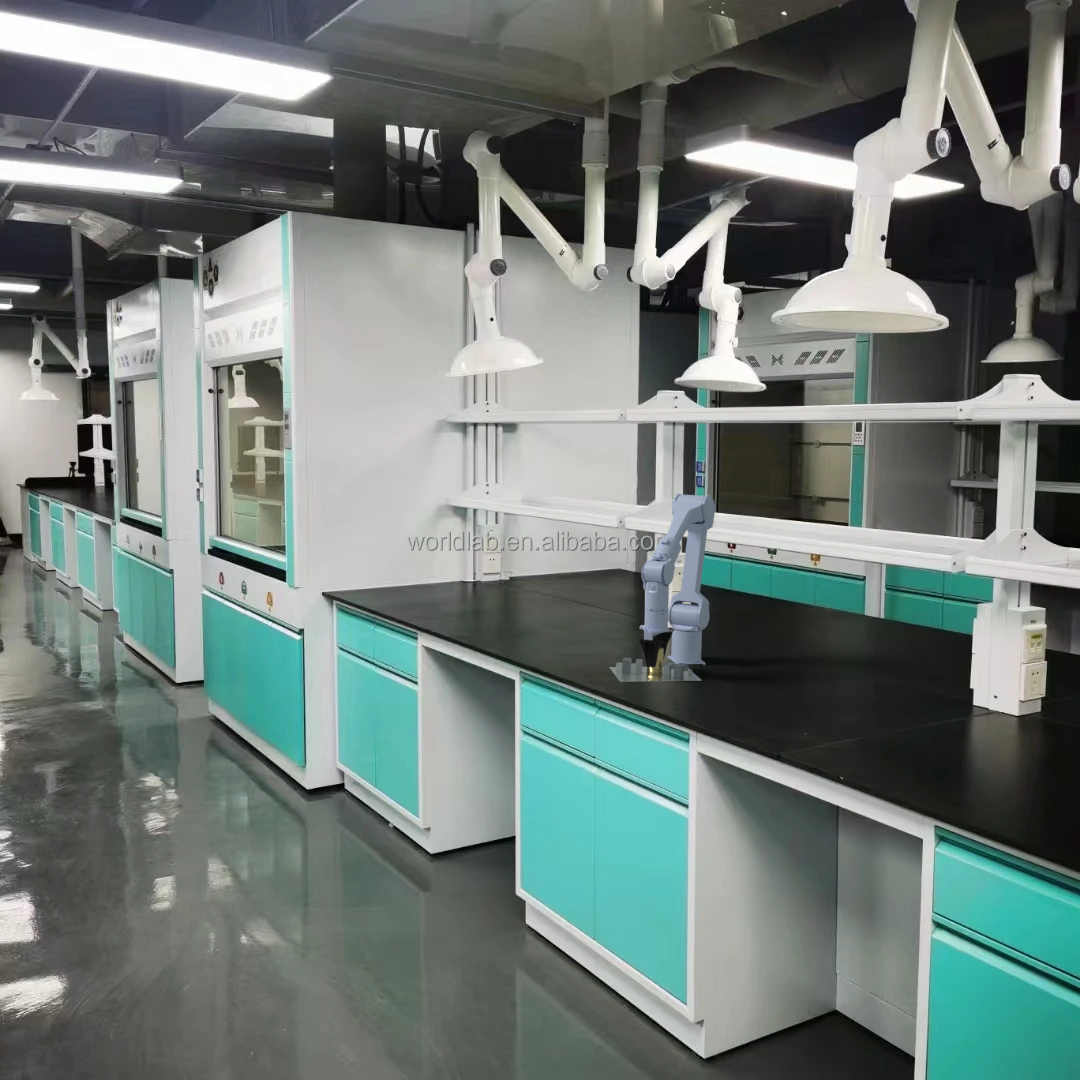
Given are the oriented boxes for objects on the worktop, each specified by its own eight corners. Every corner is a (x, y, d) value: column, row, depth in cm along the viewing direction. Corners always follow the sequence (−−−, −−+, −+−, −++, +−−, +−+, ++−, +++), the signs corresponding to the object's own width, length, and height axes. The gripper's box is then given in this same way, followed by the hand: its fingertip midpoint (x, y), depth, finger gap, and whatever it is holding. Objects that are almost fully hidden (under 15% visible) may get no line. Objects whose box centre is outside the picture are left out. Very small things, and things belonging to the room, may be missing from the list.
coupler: (645, 672, 254) (645, 644, 253) (660, 672, 254) (661, 644, 253) (648, 676, 250) (649, 647, 249) (664, 675, 250) (665, 647, 250)
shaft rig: (609, 668, 259) (609, 653, 258) (686, 667, 261) (686, 653, 261) (620, 683, 244) (620, 667, 244) (701, 682, 246) (702, 666, 246)
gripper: (648, 603, 259) (647, 656, 260) (632, 612, 245) (631, 668, 247) (676, 605, 256) (674, 658, 257) (661, 615, 243) (659, 671, 244)
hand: (655, 663), depth 252 cm, fingers open, 7 cm apart
